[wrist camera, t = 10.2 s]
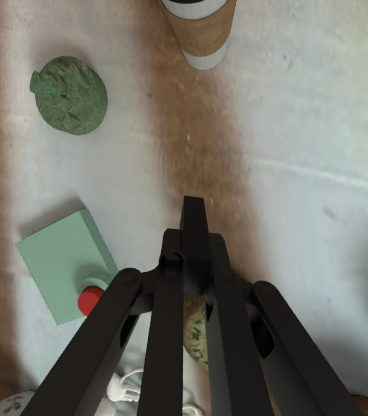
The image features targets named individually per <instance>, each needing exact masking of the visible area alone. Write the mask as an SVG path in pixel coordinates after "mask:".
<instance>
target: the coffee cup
mask: <svg viewBox="0 0 368 416" xmlns="http://www.w3.org/2000/svg"><path fill="white" fill-rule="evenodd" d="M236 1H237V0H159V2H160V4H161V6H162V8H163V10H164V12H165V15H166V17H167V19H168V21H169V23H170V25H171V27H172V30H173V32H174V34H175V36H176V38H177V40H178V43H179V45H180V46H181V49H182V51H183V54H184V56H185V58H186V60H187V62H188V63H189V64H190V65H191V66H192V67H194V68H195V69H198V70H208V69H211V68H213V67H215V66H216V65H218V64H219V63H220V62H221V60H222V59H223V57H224V56H225V54H226V51H227V46H228V40H229V34H230V30H231V25H232V20H233V16H234V11H235V6H236Z"/></svg>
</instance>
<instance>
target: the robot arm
mask: <svg viewBox="0 0 368 416" xmlns="http://www.w3.org/2000/svg"><path fill="white" fill-rule="evenodd" d="M204 290H205V300H204V303H203V306H202V310H201V313H203V311H204V317H205V330H206V343H207V356H208V370H209V383H210V396H211V409H212V416H274V413H273V409H272V406H271V402H270V398H269V394H268V390H267V386H266V383H265V379H266V382H267V384H268V386H269V388H270V391H271V393H272V395H273V397H274V400H275V402H276V404H277V406H278V408H279V411H280V413H281V415H282V416H365V415H364V414H363V412H362V411H361V410H360V408H359V407H358V405H357V404H356V402H355V401H354V399H353V398H352V396H351V395H350V394H349V392H348V391H347V389H346V388H345V386H344V385H343V383H342V382H341V381H340V379H339V378H338V376H337V375H336V373H335V372H334V370H333V369H332V367H331V366H330V365H329V363H328V362H327V360H326V359H325V357H324V356H323V354H322V353H321V352H320V350H319V349H318V347H317V346H316V344H315V343H314V341H313V340H312V339H311V337H310V336H309V334H308V333H307V331H306V330H305V328H304V327H303V325H302V324H301V323H300V321H299V320H298V318H297V317H296V315H295V314H294V312H293V311H292V310H291V308H290V307H289V305H288V304H287V302H286V301H285V299H284V298H283V296H282V295H281V294H280V292H279V291H278V289H277V288H276V287H275V286H274V285H272V284H271V283H269V282H267V281H261V280H260V281H257V282H255V284H251V283H249V282H246V281H243V280H241V279H240V278H238V276H237V274H236V273H235V272H234V271H233V270H232V269H231V265H230V261H229V256H228V252H227V248H226V244H225V240H224V238H223V237H222V236H221V234H218V233H209V231H208V225H207V218H206V211H205V205H204V198H199V197H191V196H184V201H183V208H182V214H181V220H180V230H178V229H170V228H168V229H167V230H166V231H165V232H164V235H163V242H162V249H161V255H160V257H159V264H158V266H157V267H156V268H155V269H153V270H151V271H148V272H143V273H141V272H140V271H139V270H137V269H135V268H125V269H123V270H121V271H119V272H118V273H117V274H116V276H115V277H114V279H113V280H112V281H111V283H110V284H109V286H108V287H107V289H106V290H105V292H104V293H103V295H102V296H101V297H100V299H99V300H98V302H97V303H96V305H95V306H94V308H93V309H92V311H91V312H90V314H89V315H88V316H87V318H86V319H85V321H84V322H83V324H82V325H81V327H80V328H79V330H78V331H77V332H76V334H75V335H74V337H73V338H72V340H71V341H70V343H69V344H68V346H67V347H66V349H65V350H64V351H63V353H62V354H61V356H60V357H59V359H58V360H57V362H56V363H55V365H54V366H53V367H52V369H51V370H50V372H49V373H48V375H47V376H46V378H45V379H44V381H43V382H42V383H41V385H40V386H39V388H38V389H37V391H36V392H35V394H34V395H33V397H32V398H31V400H30V401H29V402H28V404H27V405H26V407H25V408H24V410H23V411H22V413H21V414H20V416H94V415H95V413H96V411H97V409H98V406H99V404H100V402H101V400H102V398H103V395H104V393H105V391H106V389H107V387H108V384H109V382H110V380H111V378H112V376H113V373H114V371H115V369H116V367H117V365H118V362H119V360H120V358H121V356H122V354H123V352H124V349H125V347H126V345H127V343H128V341H129V338H130V336H131V334H132V332H133V330H134V327H135V325H136V323H137V321H138V319H139V316H140V314H142V313H146V312H150V311H152V315H151V322H150V328H149V335H148V342H147V349H146V356H145V363H144V370H143V376H142V383H141V390H140V397H139V404H138V411H137V416H182V415H183V302H184V294H194V295H203V294H204ZM264 377H265V379H264Z"/></svg>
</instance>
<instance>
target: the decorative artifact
mask: <svg viewBox="0 0 368 416" xmlns="http://www.w3.org/2000/svg"><path fill="white" fill-rule="evenodd" d="M30 91H31V92H33V93H35V98H36V104H37V107H38V110H39V112H40V114H41V116H42V117H43V119H44V120H45V121H46V122H47V123H48V124H49V125H50V126H52V127H53V128H55V129H58V130H61V131H64V132H67V133H70V134H74V135H83V134H87V133H89V132H91V131H93V130H94V129H96V128H97V127H98V126H99V124H100V123H101V122H102V120H103V118H104V116H105V113H106V109H107V93H106V89H105V86H104V84H103V82H102V80H101V79H100V77H99V76H98V75H97V74H96V73H95V72H94V71H92V70H91V69H90V68H89V67H88V66H87V65H85V64H84V63H83V62H82V61H80V60H79V59H76V58H74V57H70V56H61V57H57V58H55V59H53V60H51V61H50V62H48V63H47V64H46V65H45V66H44V67H43V69H42V70H41V72H40V73H38V72H36V71H35V70H34V72H33V74H32V77H31V81H30Z"/></svg>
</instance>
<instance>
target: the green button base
mask: <svg viewBox="0 0 368 416" xmlns="http://www.w3.org/2000/svg"><path fill="white" fill-rule="evenodd" d="M15 245H16V247H17V248H18V250H19V252H20V254H21V256H22V258H23V260H24V262H25V264H26V266H27V268H28V270H29V272H30V273H31V275H32V277H33V279H34V281H35V283H36V285H37V287H38V289H39V291H40V293H41V295H42V297H43V299H44V300H45V302H46V304H47V306H48V308H49V310H50V312H51V314H52V316H53V318H54V320H55V322H56V324H57V325H61V324H63V323H66V322H69V321H71V320H74V319H77V318H79V317H82V316H86V315H84V314H83V313H82V312H81V311H80V310H79V308H78V303H77V302H78V298H79V296H80V295H81V294H82V293H83V292H84V291H86V290H87V289H88V288H89V287H92V286H97V287H100V288H101V289H103V290H104V291H105V290H106V289H107V287H108V286H109V284H110V283H111V281H112V280H113V279H114V277H115V276H116V274H117V273H118V272H119V271H118V269H117V267H116V265H115V263H114V261H113V259H112V257H111V255H110V253H109V251H108V249H107V247H106V245H105V243H104V241H103V239H102V237H101V235H100V233H99V231H98V229H97V227H96V225H95V223H94V221H93V219H92V217H91V215H90V213H89V211H88V209H84V210H79V211H77V212H75V213H73V214H71V215H69V216H67V217H65V218H63V219H61V220H59V221H57V222H56V223H54V224H52V225H50V226H48V227H46V228H44V229H42V230H40V231H38V232H36V233H34V234H32V235H31V236H29V237H27V238H25V239H23V240H21V241H19V242H17V243H15Z"/></svg>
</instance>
